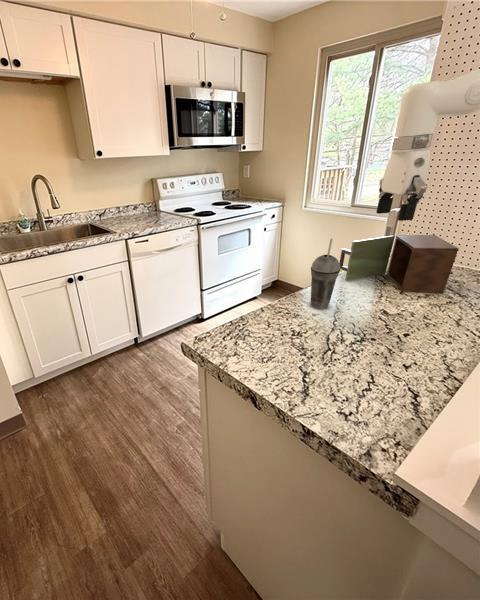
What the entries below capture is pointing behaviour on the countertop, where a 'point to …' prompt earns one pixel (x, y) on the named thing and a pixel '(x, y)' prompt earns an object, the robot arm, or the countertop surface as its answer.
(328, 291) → the beverage cup
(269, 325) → the countertop surface
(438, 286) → the cupboard
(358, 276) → the cupboard door
